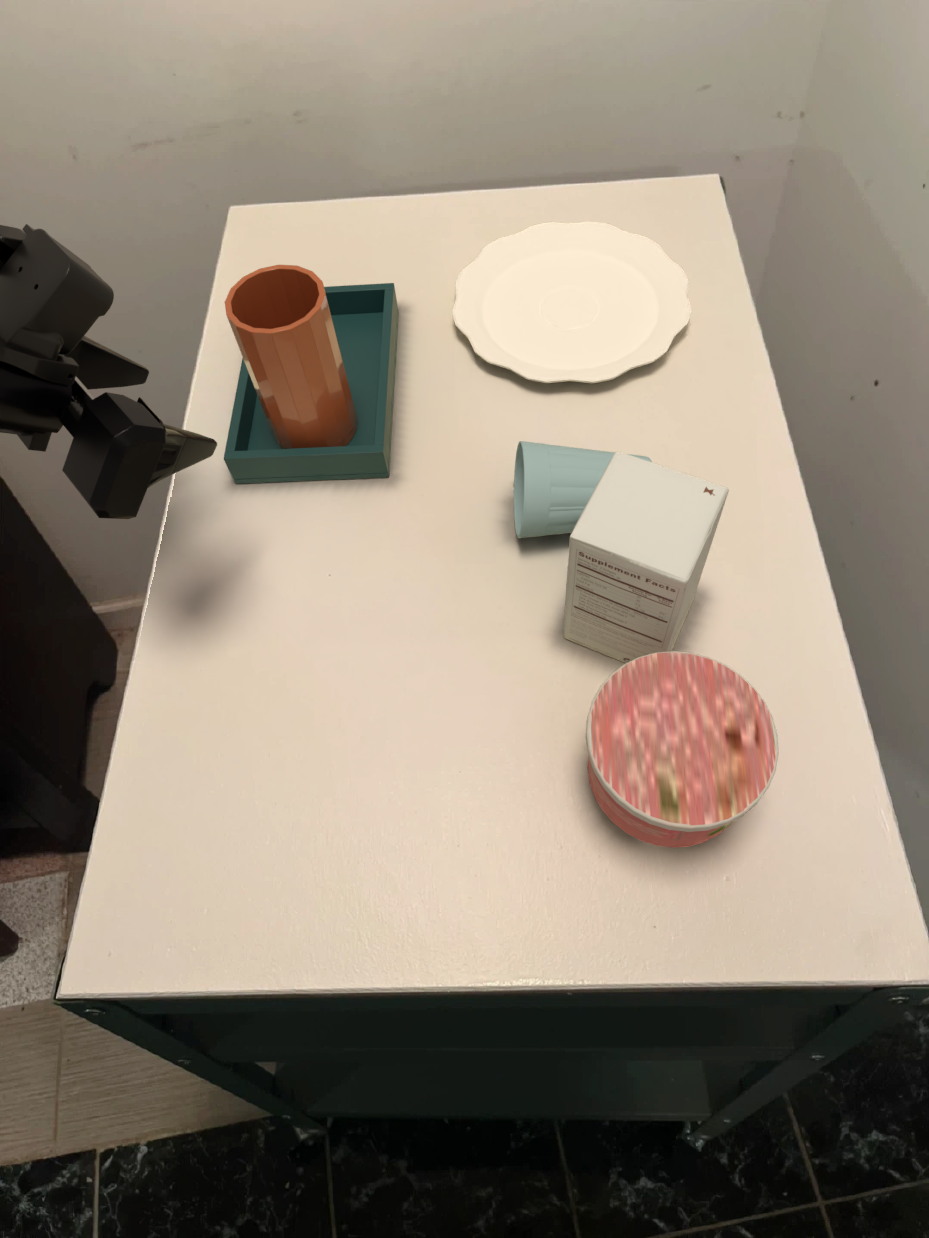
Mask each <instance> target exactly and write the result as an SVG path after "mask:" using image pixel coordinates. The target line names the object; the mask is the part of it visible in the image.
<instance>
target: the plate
mask: <svg viewBox="0 0 929 1238" xmlns="http://www.w3.org/2000/svg"><path fill="white" fill-rule="evenodd" d="M689 283H690V282H689V278H688V276H687V274H686V272H685V271H684V268H683V267H682V266H680V265H679V264H678V263H676V262H675V261H674V260H672V259H671V258H670V257H669V256H668V255H667V253H666V252H665V250H664V249H663V248H662V246H661V245H660V244H659V243H658V242H655V241H654V240H653V239H651V238H649V237H647V236H645V235H643V234H637V233H634V232H630V231H626V230H623V229H622V228H619V227H617V226H615V225H612V224H610V223H607V222H600V221H594V220H588V221H580V222H579V221H578V222H562V221H561V222H558V221H546V222H542V223H537V224H532V225H530V226H528V227H526V228H524V229H522V230H520V231H518V232H516V233H512V234H508V235H506V236H505V235H504V236H502V237H498V238H495V239H494V240H493V241H491V242H489V243H487V244H486V245H485V246H483V247H482V249H481V250H480V252H479V253H478V255H477V256H476V257H475V259H474V260H472V262H470V263H469V264H468V265H466V266H465V267H464V268H462V269H461V270H460V271H459V274H458V275H457V278H456V279H455V282H454V288H455V300H454V304H453V306H452V310H451V315H452V318H453V322H454V325H455V328H457V329H458V330H459V332H461V333H462V334H463V335H464V337H466V338H467V339H468V342H469V344H470V345H471V348H472V349H473V352H474V353H475V355H477V356H478V357H479V358H481V359H482V360H484V362H486V363H488V364H490V365H493V366H497V367H500V368H503V369H507V370H509V371H511V372H513V373H515V374H516V375H518V376H520V377H522V378H524V379H525V380H526V381H527V380H528V381H532V382H537V383H543V384H553V383H563V382H576V383H584V384H585V383H587V384H597V383H602V382H607V381H608V382H609V381H611V380H612V381H613V380H614V379H617V378H619V377H620V376H621V375H624V374H625V373H627V372H629V371H630V370H633V369H636V368H639V367H643V366H647V365H650V364H653V363H654V362H656V361H658V360H659V359H660V358H661V357H663V356H664V355H665V354H667V353H668V350H669V349H670V347H671V345H672V343H673V341H674V339H675V337H677V336H678V334H680V333H681V332H682V330H684V329H685V328H686V327H687V326H688V324H689V320H690V317H691V314H692V306H691V303H690V300H689V296H688V292H689V291H688V290H689Z"/></svg>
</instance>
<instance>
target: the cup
mask: <svg viewBox="0 0 929 1238" xmlns="http://www.w3.org/2000/svg"><path fill="white" fill-rule="evenodd" d="M515 452H516V453H515V459H514V472H513V520H514V530H515V535H516V538H518V539H525V538H533V537H543V536H553V535H563V534H571V533H572V531H573V529H574V527H575V525H576V523H577V522H578V520H579V518H580V516H581V514H582V512H583V510H584V508H585V507H586V505H587V503H588V501H589V499H590V497H591V495H592V493H593V492H594V490H595V488H596V486H597V484H598V482H599V481H600V479H601V477H602V475H603V473H604V471H605V469H606V468H607V466H608V464H609V462H610V461H611V459H612V457H613V455H614V454H615V452H616V451H615V452H614V451H605V450H599V449H598V450H597V449H590V448H581V447H572V446H565V445H556V444H548V443H542V442H533V441H525V440H520V441H518V444H517V446H516V451H515ZM627 454H628V455H631V456H634V457H637V458H640V459H643V460H646V461H649V462H652V463H653V461H652V459H651V458H650V457H649V456H646V455H640V454H632V453H627Z"/></svg>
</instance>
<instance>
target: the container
mask: <svg viewBox="0 0 929 1238" xmlns="http://www.w3.org/2000/svg"><path fill="white" fill-rule="evenodd" d="M586 718H587V719H586V725H585V726H586V727H585V745H586V750H587V762H586V763H587V764H586V765H587V766H586V768H587V777H588V783H589V786H590V789H591V792H592V795H593V797H594V799H595V801H596V802H597V804H598V806H599V807H600V809H601V811H602V812H603V813H604V814H605V816H606V817H608V819H609V820H610V821H611V822H612V823H613V824H614V825H615V826H617V827H618V828H619V829H621V830H622V831H623V832H624V833H625V834H627V835H629V836H631V837H633V838H635V839H636V840H639V841H641V842H644V843H646V844H650V845H653V846H656V847H664V848H673V849H675V848H687V847H688V848H689V847H693V846H696V845H699V844H703V843H706V842H708V841H710V840H712V839H714V838H716V837H718V836H719V835H720V834H721V833H723V832H724V831H725V830H726V829H727V828H729V826H731V824H733V823H734V822H735V821H736V820H738V819H741V818H742V817H744V816H745V815H746V814H747V813H748V812H749V811H751V810H752V809H753V808H754V807H755V806H756V805H758V803H759V802H760V800H761V799H762V797H763V796H764V795H765V793H766V792H767V791H768V789H769V788H770V786H771V783H772V781H773V778H774V777H775V774H776V771H777V767H778V760H779V754H780V751H779V735H778V731H777V728H776V724H775V720H774V716H773V715H772V713H771V711H770V709H769V707H768V705H767V702H766V701H765V700H764V698H763V697H762V696H761V695H760V693H759V692H758V691H757V689H756V688H755V687H754V686H753V684H751V683H750V682H749V681H748V680H747V678H745V677H744V676H743V675H741V674H740V673H739V672H737V671H736V670H734V669H732V668H731V667H730V666H728V665H727V664H725V663H722V662H720V661H718V660H716V659H713V658H711V657H709V656H705V655H702V654H698V653H693V652H687V651H678V650H677V651H675V650H672V651H669V652H657V653H652V654H649V655H645V656H641V657H638V658H636V659H634V660H632V661H630V662H628V663H624V664H623V665H621V666H620V667H618V668H617V669H615V670H614V671H613V672H611V674H609V676H608V677H607V678H606V679H605V680H604V681H603V683H602V684H601V685H600V686H599V688H598V689H597V692H596V693H595V695H594V697H593V698H592V700H591V703H590V707H589V711H588V713H587V717H586Z"/></svg>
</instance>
